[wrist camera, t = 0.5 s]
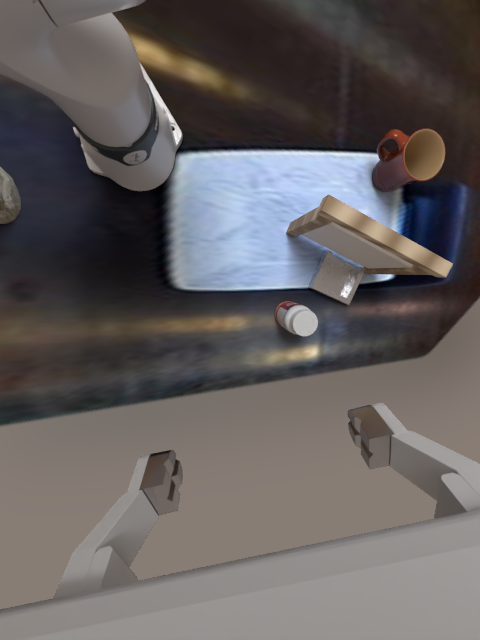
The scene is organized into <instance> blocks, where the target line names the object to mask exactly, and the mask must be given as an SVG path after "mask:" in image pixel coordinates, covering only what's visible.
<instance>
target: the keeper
mask: <svg viewBox="0 0 480 640" xmlns="http://www.w3.org/2000/svg"><path fill="white" fill-rule="evenodd" d="M332 254H333V253H332V252H330V251H324V253H323V255H322V258H321V260H320V262H319V264H318V266H317V269H316V271H315V273H314V275H313V277H312V280H311V282H310V284H309V286H308V288H311V289H313V290H315V291H317V292H319V293H322V294H324V295H326V296H328V297H330V298H333V299H335V300H337V301H339V302H341V303H344V304H347V305H349V304H350V302H351V300H352V298H353V296H354V293H355V291H356V289H357V287H358V285H359V283H360V281H361V279H362V277H363V275H364V273H365V271H366V269H364V268H362V267H356V266H353V265H351V264H349V263H347V262H345V261H343V260H341V259H339V258H337V257H335V256H333V255H332Z"/></svg>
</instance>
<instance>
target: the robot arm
mask: <svg viewBox="0 0 480 640" xmlns="http://www.w3.org/2000/svg"><path fill="white" fill-rule="evenodd" d="M144 1H146V0H0V74H1V75H4V76H6V77H8V78H11V79H13V80H15V81H18V82H20V83H22V84H24V85H26V86H28V87H30V88H32V89H34V90H36V91H38V92H40V93H42V94H44V95H45V96H47V97H48V98H50V99H51V100H52V101H54V102H55V103H56V104H57V105H58V106H59V107H60V108H61V109H62V110H63V111H64V112H65V113H66V114H67V115H68V116H69V118H70V120H71V122H72V124H73V125H74V127H73V130H74V132H75V134H76V136H77V137H80V140H81V147H82V149H83V151H84V154H85V158H86V161H87V165H88V167H89V168H90V170H91V171H92V172H94V173H96V174H98V175H102V176H106V177H109V178H110V179H112V180H113V181H115V182H116V183H117V184H119V185H121V186H122V187H125V188H127V189H130V190H134V191H147V190H151V189H154V188H156V187H158V186H160V185H161V184H162V183H163V182H165V180H166V179H167V178H168V177H169V175H170V173H171V171H172V169H173V166H174V161H175V154H176V151H177V149H178V148H179V146H180V144H181V143H182V140H183V135H182V132H181V130H180V128H179V127H178V125H177V123H176V122H175V120H174V118H173V117H172V115H171V113H170V112H169V110H168V108H167V107H166V105H165V103H164V102H163V100H162V98H161V97H160V95H159V93H158V92H157V90H156V88H155V87H154V85H153V83H152V82H151V80H150V78H149V77H148V75H147V73H146V72H145V70H144V68H143V67H142V65H141V63H140V62H139V59H138V56H137V53H136V50H135V47H134V45H133V43H132V40H131V39H130V37H129V35H128V33H127V32H126V30H125V29H124V28H123V26H122V25H121V24H120V22H119V21H118V20H117V19H116V17H115V16H114V15H113V14H112V12H116V11H119V10H123V9H127V8H130V7H134V6H137V5H139V4H141V3H143V2H144ZM172 128H174V129H175V130H174V131H172ZM348 417H349V419H350V422H349V423H348V426H349V431H350V435H351V437H352V439H353V441H354V443H355V445H356V446H357V447H359V448H361V455H362V457H363V459H364V460H365V462H366V464H367V466H368V467H369V469H373V468H378V467H383V466H389V465H390V467H392V468H393V469H394V470H395V471H397V472H398V473H400V474H401V475H403V476H404V477H405V478H406V479H408V480H409V481H411V482H412V483H413V484H415V485H416V486H417V487H419V488H420V489H421V490H423V491H424V492H425V493H427V494H428V495H430V496H431V497H432V498H434V499H435V500H436V501H437V504H436V510H435V515H434V518H435V519H431V520H426V521H421V522H416V523H412V524H407V525H402V526H397V527H393V528H388V529H383V530H378V531H373V532H369V533H364V534H359V535H354V536H350V537H345V538H340V539H335V540H330V541H326V542H321V543H316V544H311V545H306V546H301V547H297V548H292V549H287V550H282V551H278V552H273V553H268V554H263V555H258V556H254V557H249V558H244V559H239V560H235V561H230V562H225V563H221V564H216V565H211V566H206V567H201V568H197V569H192V570H187V571H182V572H178V573H173V574H168V575H163V576H158V577H153V578H149V579H144V580H139V581H138V579H137V576H136V575H135V574H134V573H133V572H132V570H131V569H130V568H129V567H130V565H131V563H132V562H133V560H134V558H135V557H136V555H137V553H138V551H139V550H140V548H141V546H142V545H143V543H144V541H145V539H146V538H147V536H148V534H149V533H150V531H151V529H152V528H153V526H154V524H155V522H156V521H157V519H158V516H159V515H162V514H167V513H170V512H175V511H177V510H178V505H179V499H180V493H179V491H178V488H179V487H180V485H181V484H182V477H183V475H182V466H181V464H180V461H178V460H176V459H175V458H176V453H175V452H174V450H169V451H164V452H159V453H153V454H149V455H144V456H140V458H139V459H138V461H137V464H136V467H135V470H134V473H133V476H132V479H131V482H130V485H129V487H128V490H127V493H125V494H123V495H122V496H121V497H120V499H119V500H118V501H117V502H116V503H115V505H113V507H112V508H111V509H110V510H109V511H108V512H107V514H106V515H105V516H104V517H103V519H101V521H100V522H99V523H98V524H97V525H96V526H95V528H94V529H93V530H92V531H91V532H90V533H89V535H88V536H87V537H86V538H85V539H84V540H83V542H82V543H81V544H80V545H79V546H78V547H77V549H76V550H75V551H74V552H73V554H72V556H71V559H70V561H69V563H68V566H67V568H66V570H65V572H64V575H63V577H62V579H61V582H60V584H59V586H58V588H57V591H56V593H55V595H54V597H53V599H49V600H44V601H39V602H34V603H29V604H24V605H20V606H15V607H10V608H5V609H1V610H0V640H480V464H479V463H477V462H474V461H472V460H470V459H468V458H466V457H464V456H462V455H460V454H458V453H456V452H454V451H452V450H450V449H448V448H446V447H444V446H442V445H439V444H437V443H436V442H433V441H431V440H429V439H427V438H425V437H423V436H421V435H419V434H417V433H415V432H413V431H407V430H406V429H405V427H404V426H403V425H402V424H401V423H400V422H399V421H398V419H397V418H396V417H395V416H394V415H393V414H392V413H391V411H390V410H389V409H388V408H387V407H386V405H385V404H383V403H377V404H373V405H368V406H363V407H359V408H355V409H351V410H348Z"/></svg>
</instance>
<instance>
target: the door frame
mask: <svg viewBox="0 0 480 640" xmlns="http://www.w3.org/2000/svg"><path fill="white" fill-rule="evenodd" d="M331 222H334V223H336V224H337V225H339V226H341V227H343V228H345V229H347V230H349V231H351V232H352V233H354V234H356V235H358V236H360V237H362V238H364V239H366V240H367V241H369V242H371V243H373V244H375V245H377V246H379V247H381V248H382V249H384V250H386V251H388V252H390V253H392V254H394V255H396V256H398V257H399V258H401V259H403V260H405V261H407V262H409V263H411V264H413V265H412V267H411V268H366V267H363V268H364V269H366V271H365V273H367V274H407V275H433V276H435V277H446V276H447V274H448V273H449V271H450V269H451V267H452V265H453V264H452V263H451V262H449V261H447V260H445V259H443V258H442V257H440V256H438V255H436V254H434V253H433V252H431V251H429V250H427V249H425V248H424V247H422V246H420V245H418V244H416V243H415V242H413V241H411V240H409V239H407V238H406V237H404V236H402V235H400V234H399V233H397V232H395V231H393V230H391V229H390V228H388V227H386V226H384V225H382V224H381V223H379V222H377V221H375V220H373V219H372V218H370V217H368V216H366V215H364V214H363V213H361V212H359V211H357V210H356V209H354V208H352V207H350V206H348V205H347V204H345V203H343V202H341V201H339V200H338V199H336V198H334V197H332V196H330V195H327V196H326V197H324V198H323V199H322V202H321V204H320V206H319V207H317V208H316V209H314V210H312V211H310V212H308V213H307V214H305V215H303V216H301V217H300V218H298V219H296V220H294V221H293V222H291V223H290V225H289V227H288V230H287V232H286V233H287V234H289V235H291V236H293V237H295V236H297V235H300V234H302V233H305V232H308V231H310V230H313V229H315V228H318V227H321V226H323V225H326V224H328V223H331Z"/></svg>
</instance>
